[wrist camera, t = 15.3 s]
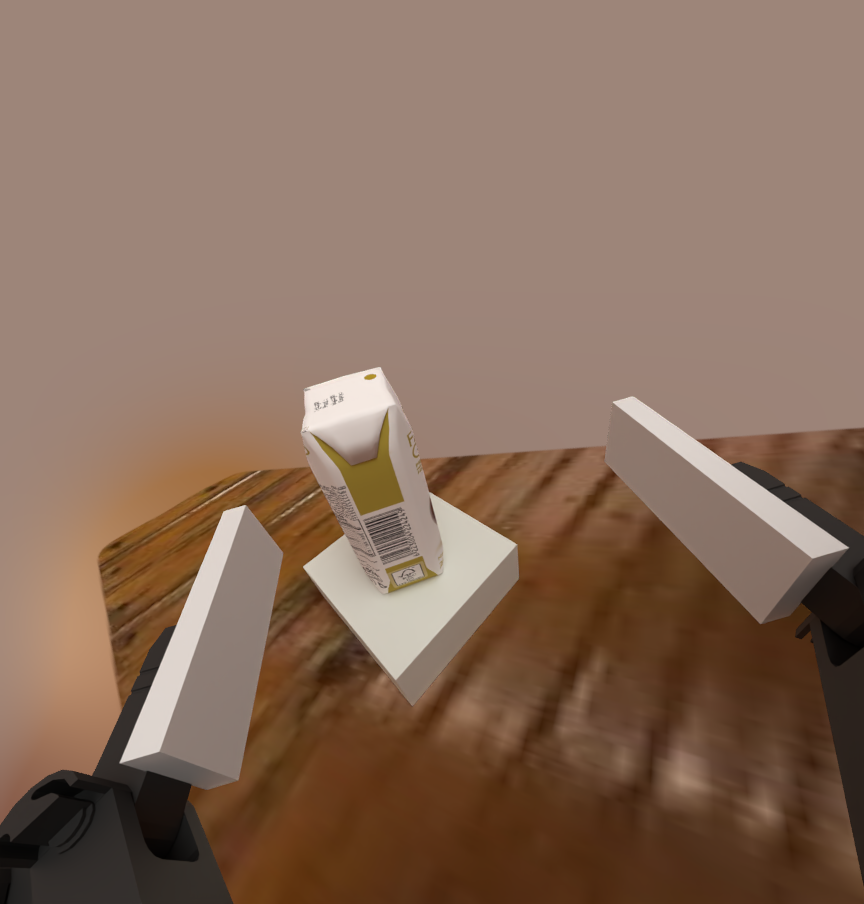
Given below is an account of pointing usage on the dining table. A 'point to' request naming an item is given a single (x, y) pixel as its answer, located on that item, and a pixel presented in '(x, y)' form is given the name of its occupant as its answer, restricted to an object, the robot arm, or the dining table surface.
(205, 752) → the robot arm
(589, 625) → the dining table surface
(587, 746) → the dining table surface
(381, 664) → the stacking block
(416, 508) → the juice carton
